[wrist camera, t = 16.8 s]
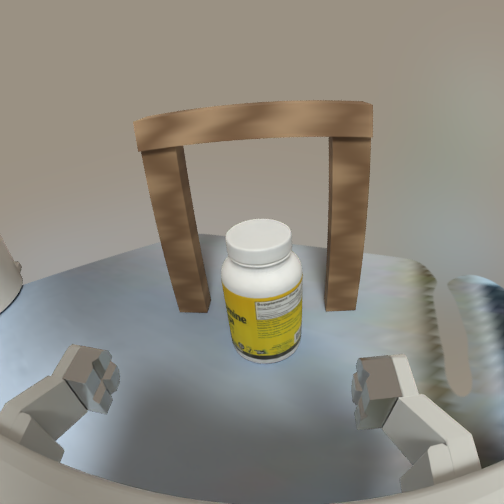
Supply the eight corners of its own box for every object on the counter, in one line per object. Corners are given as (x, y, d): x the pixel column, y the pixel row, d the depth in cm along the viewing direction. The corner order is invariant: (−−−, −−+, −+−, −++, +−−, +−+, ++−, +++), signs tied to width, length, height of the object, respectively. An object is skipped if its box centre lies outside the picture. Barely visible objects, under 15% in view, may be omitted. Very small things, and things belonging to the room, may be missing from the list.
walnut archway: (178, 315, 32) (133, 121, 22) (185, 297, 34) (147, 116, 24) (356, 313, 30) (372, 104, 20) (351, 294, 32) (362, 101, 22)
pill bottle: (226, 326, 30) (208, 223, 24) (286, 311, 31) (283, 208, 25) (242, 374, 25) (223, 264, 19) (311, 355, 26) (317, 243, 20)
